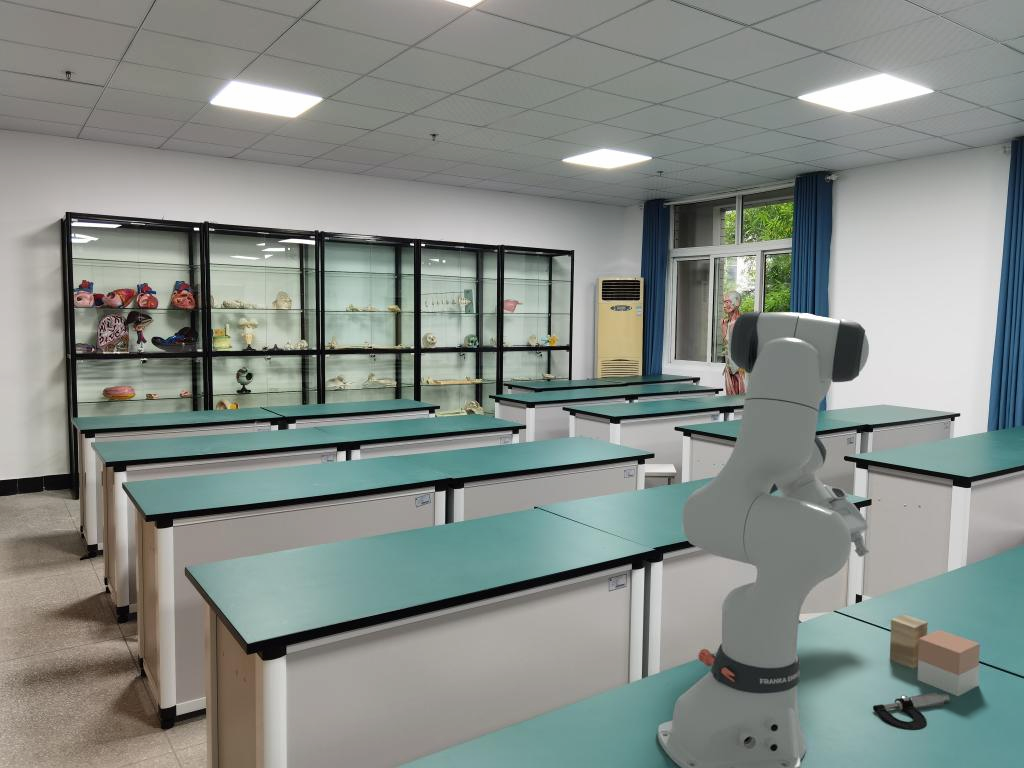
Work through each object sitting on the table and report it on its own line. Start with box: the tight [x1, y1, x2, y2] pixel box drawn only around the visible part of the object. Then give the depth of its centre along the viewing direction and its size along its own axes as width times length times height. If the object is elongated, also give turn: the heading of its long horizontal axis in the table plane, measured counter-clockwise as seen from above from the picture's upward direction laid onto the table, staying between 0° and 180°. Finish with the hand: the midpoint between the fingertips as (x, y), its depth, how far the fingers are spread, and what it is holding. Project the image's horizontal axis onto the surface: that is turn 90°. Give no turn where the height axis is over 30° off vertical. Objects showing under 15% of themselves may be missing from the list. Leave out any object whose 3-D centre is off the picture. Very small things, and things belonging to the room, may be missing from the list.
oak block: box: [889, 614, 929, 669], centre depth 138 cm, size 4×4×8 cm
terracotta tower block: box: [918, 629, 981, 675], centre depth 129 cm, size 7×7×4 cm
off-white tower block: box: [917, 660, 980, 697], centre depth 129 cm, size 7×7×4 cm
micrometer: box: [872, 692, 951, 731], centre depth 119 cm, size 15×7×2 cm, turn 103°
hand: (851, 559), depth 147 cm, fingers open, 8 cm apart
